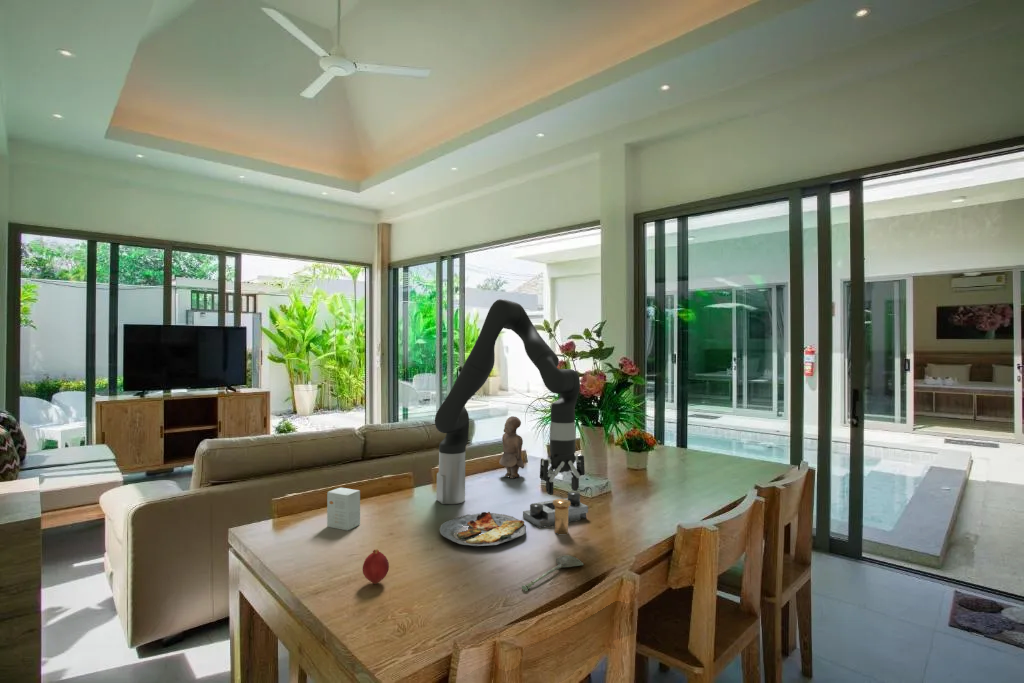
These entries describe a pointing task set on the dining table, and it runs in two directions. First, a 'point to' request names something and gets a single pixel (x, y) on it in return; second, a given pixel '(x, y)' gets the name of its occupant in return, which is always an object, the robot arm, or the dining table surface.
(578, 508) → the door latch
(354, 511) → the small box
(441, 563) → the dining table surface
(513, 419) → the clay figurine
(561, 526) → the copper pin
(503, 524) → the food plate
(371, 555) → the onion
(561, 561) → the soupspoon
